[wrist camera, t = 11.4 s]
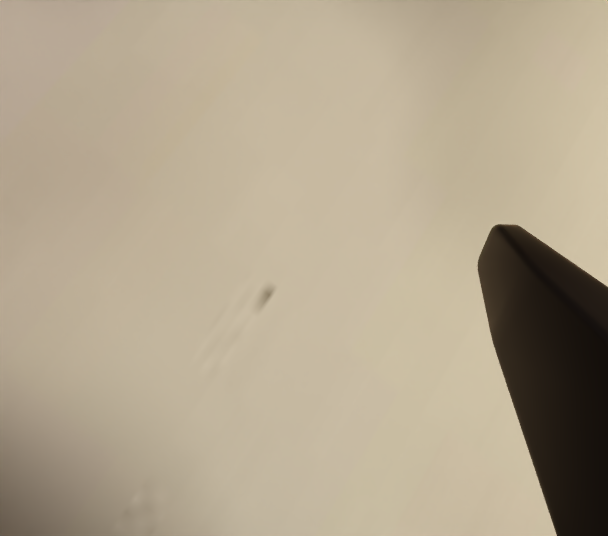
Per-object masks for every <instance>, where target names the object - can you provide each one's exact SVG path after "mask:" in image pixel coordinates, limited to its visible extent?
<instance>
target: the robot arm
mask: <svg viewBox="0 0 608 536" xmlns="http://www.w3.org/2000/svg"><path fill="white" fill-rule="evenodd" d="M478 273H479V278H480V283H481V288H482V293H483V298H484V303H485V308H486V312H487V317H488V322H489V327H490V332H491V336H492V340H493V344H494V347H495V350H496V353H497V357H498V360H499V363H500V366H501V369H502V372H503V375H504V378H505V381H506V384H507V387H508V390H509V393H510V396H511V399H512V402H513V405H514V408H515V411H516V414H517V417H518V420H519V423H520V426H521V429H522V432H523V435H524V438H525V441H526V444H527V447H528V450H529V453H530V456H531V459H532V462H533V465H534V468H535V471H536V474H537V477H538V480H539V483H540V486H541V489H542V492H543V495H544V498H545V501H546V504H547V507H548V510H549V513H550V516H551V519H552V522H553V525H554V528H555V531H556V534H557V536H608V287H607V286H606V285H604V284H603V283H601V282H600V281H598V280H597V279H595V278H594V277H592V276H591V275H590V274H588V273H587V272H585V271H584V270H582V269H581V268H579V267H578V266H577V265H575V264H574V263H572V262H571V261H569V260H568V259H566V258H565V257H563V256H562V255H561V254H559V253H558V252H556V251H555V250H553V249H552V248H550V247H549V246H548V245H546V244H545V243H543V242H542V241H540V240H539V239H537V238H536V237H535V236H533V235H532V234H530V233H529V232H527V231H526V230H524V229H523V228H521V227H520V226H518V225H503V224H498V225H495V226H494V227H493V228H492V229H491V231H490V233H489V235H488V238H487V240H486V242H485V245H484V247H483V249H482V252H481V254H480V257H479V260H478Z"/></svg>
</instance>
